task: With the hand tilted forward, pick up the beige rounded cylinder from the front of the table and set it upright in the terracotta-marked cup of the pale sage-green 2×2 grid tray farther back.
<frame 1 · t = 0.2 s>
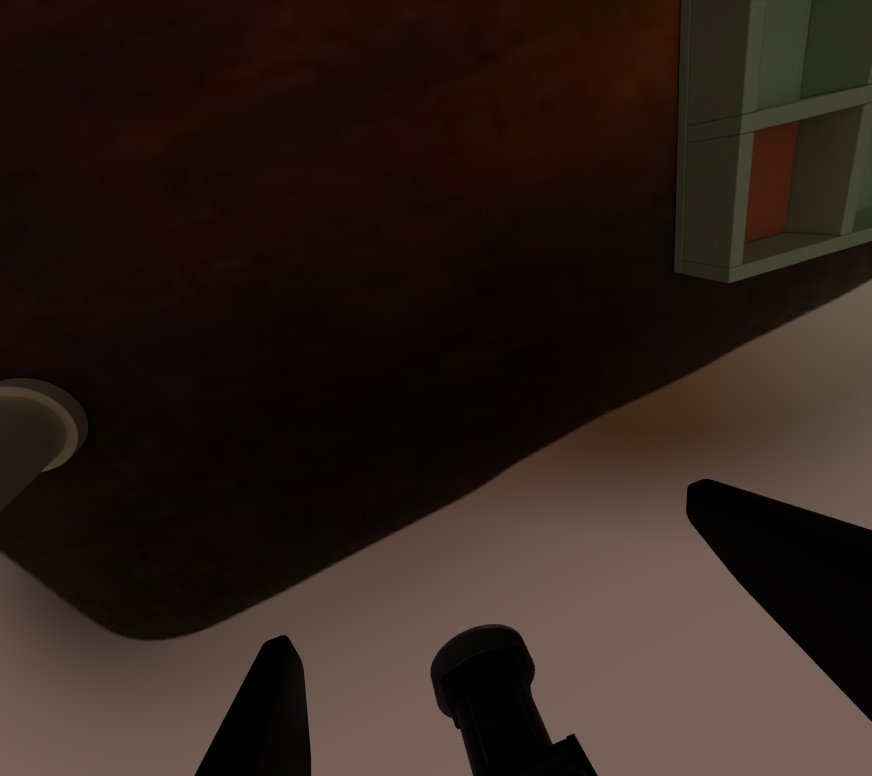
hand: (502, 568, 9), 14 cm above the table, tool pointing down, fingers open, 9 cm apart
beige rounded cylinder: (33, 420, 19), on the table
grid: (792, 108, 22), on the table
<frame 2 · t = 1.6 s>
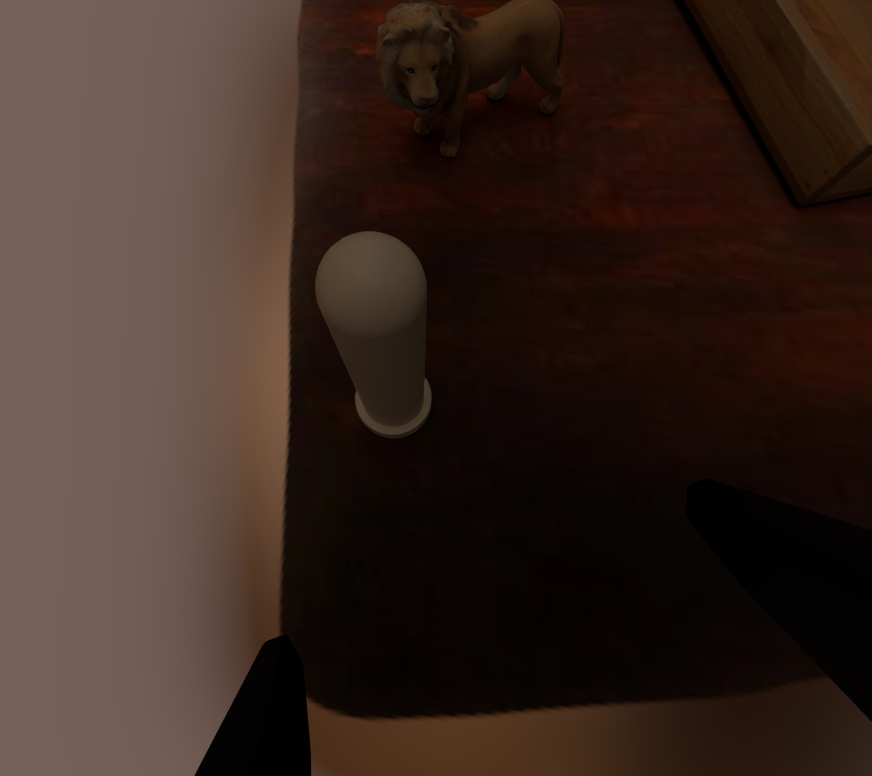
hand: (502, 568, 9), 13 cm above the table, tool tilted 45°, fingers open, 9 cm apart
tray: (785, 38, 35), on the table
beige rounded cylinder: (394, 402, 24), on the table
lion figurine: (473, 132, 31), on the table
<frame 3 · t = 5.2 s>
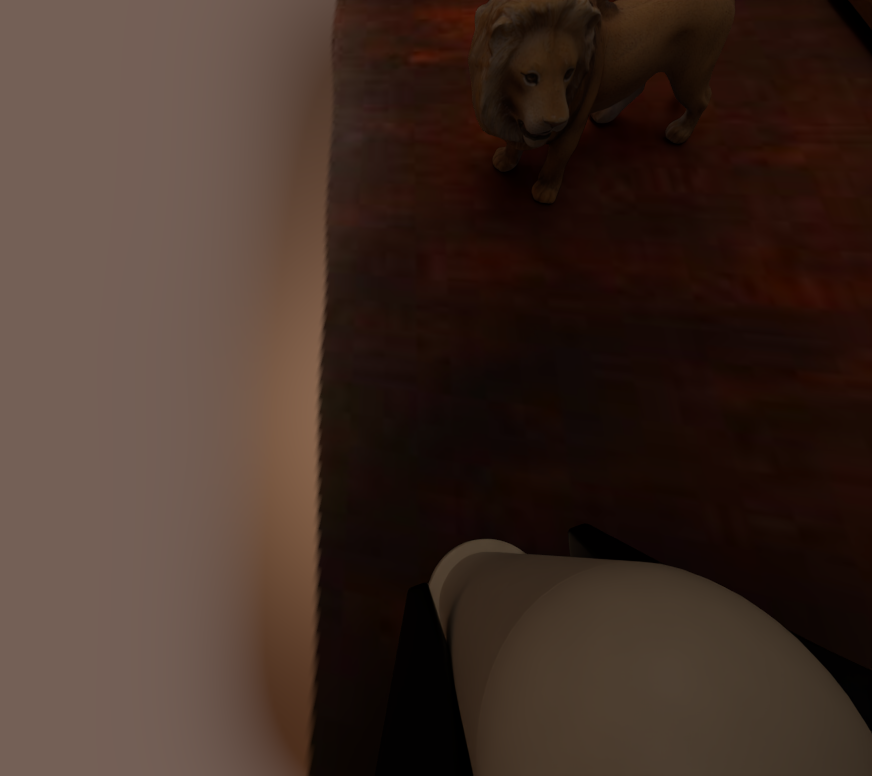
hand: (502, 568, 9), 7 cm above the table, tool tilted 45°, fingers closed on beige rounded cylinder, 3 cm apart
beige rounded cylinder: (485, 601, 15), on the table, touching gripper
lion figurine: (575, 168, 22), on the table
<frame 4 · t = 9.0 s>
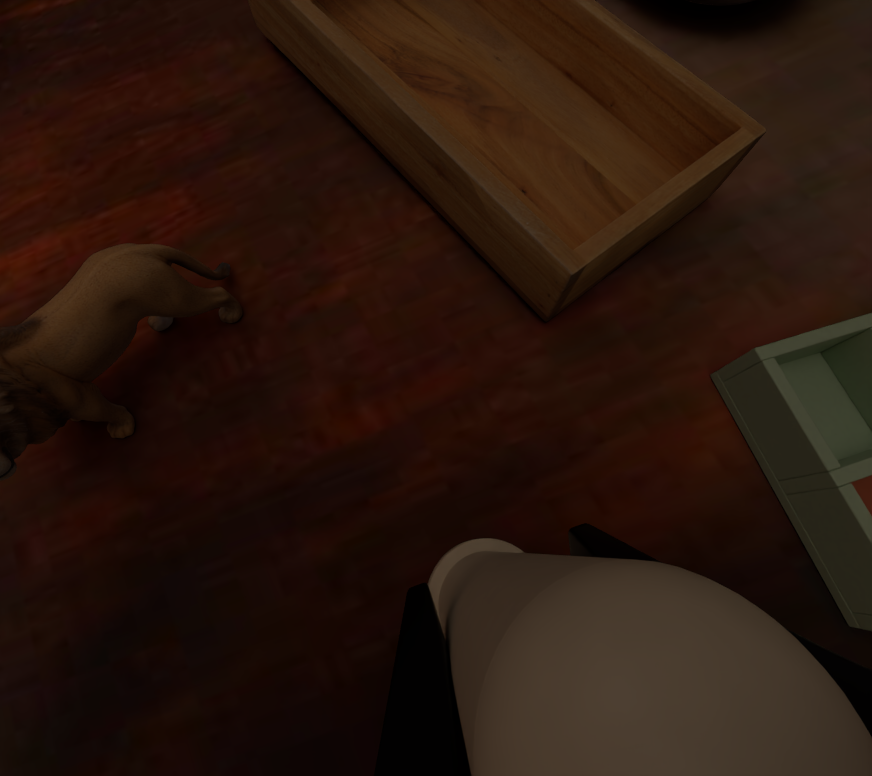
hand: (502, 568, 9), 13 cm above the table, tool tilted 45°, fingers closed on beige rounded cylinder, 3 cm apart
tray: (469, 116, 31), on the table
beige rounded cylinder: (484, 600, 15), point 6 cm above the table, touching gripper
lion figurine: (151, 383, 24), on the table
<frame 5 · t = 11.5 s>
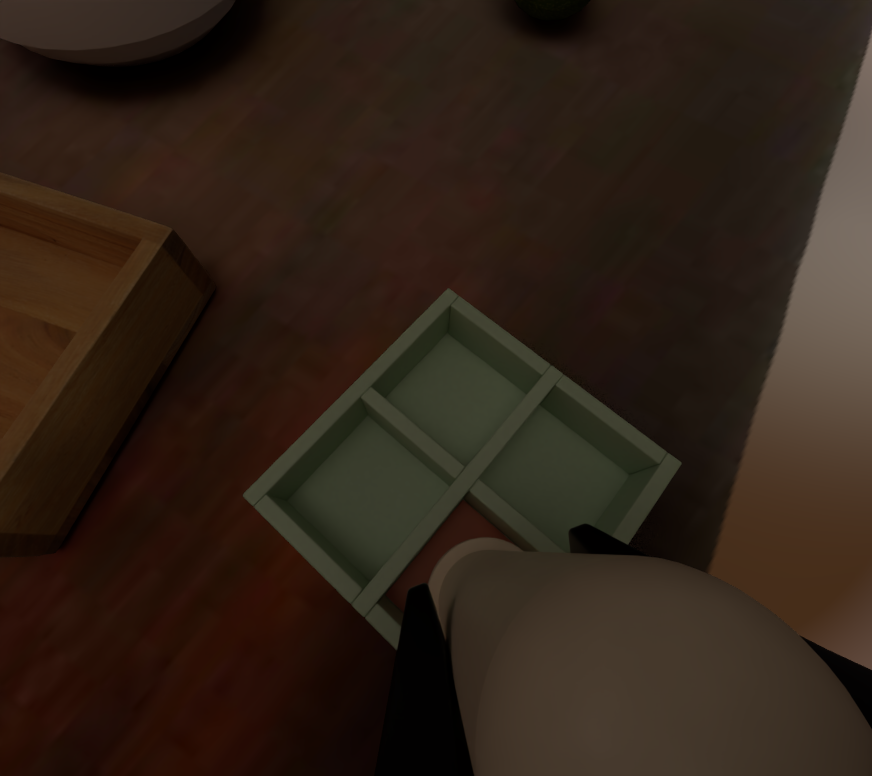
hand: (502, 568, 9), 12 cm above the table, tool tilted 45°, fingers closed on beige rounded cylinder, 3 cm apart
beige rounded cylinder: (484, 599, 15), point 6 cm above the table, touching gripper
grid: (460, 489, 22), on the table
bowl: (143, 20, 33), on the table
fruit: (544, 18, 34), on the table
when the fingers open (7 cm above the table, at t = 13.2 s): beige rounded cylinder stays where it is, resting on grid.
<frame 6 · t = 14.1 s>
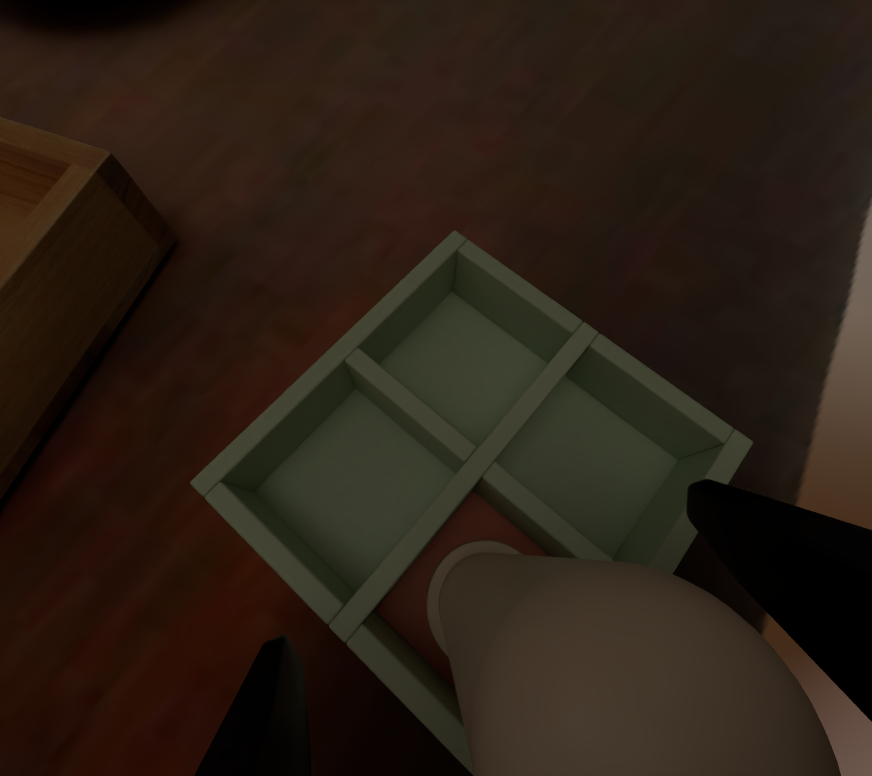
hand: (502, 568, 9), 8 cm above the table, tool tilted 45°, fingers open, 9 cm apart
beige rounded cylinder: (483, 600, 15), point 1 cm above the table, touching grid
grid: (469, 478, 18), on the table
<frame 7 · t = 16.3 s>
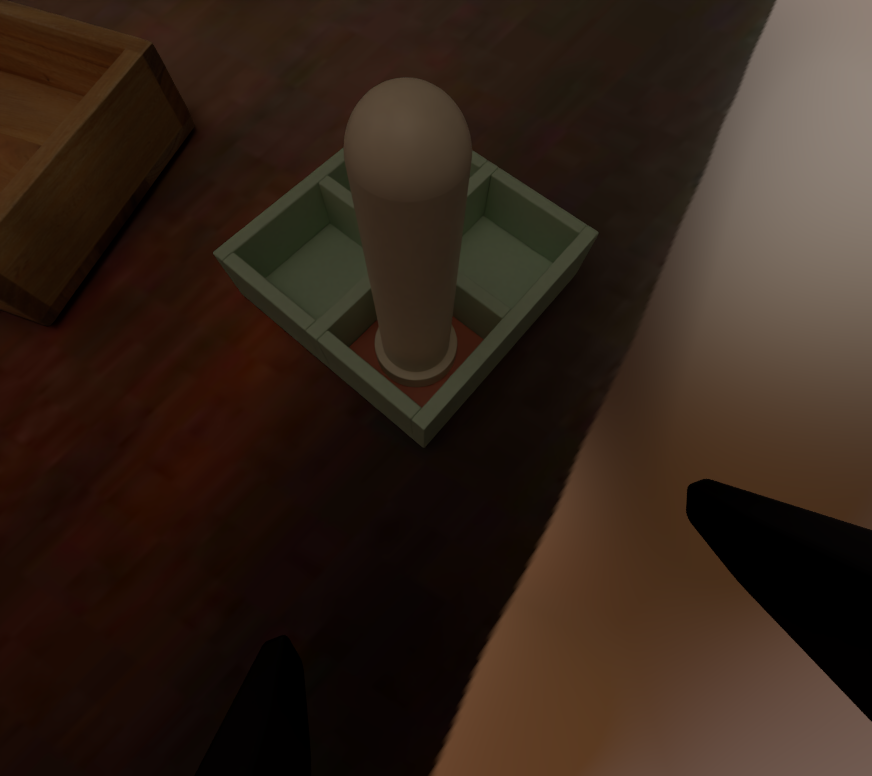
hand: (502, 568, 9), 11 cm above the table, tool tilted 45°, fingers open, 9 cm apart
beige rounded cylinder: (416, 350, 22), point 1 cm above the table, touching grid
grid: (411, 284, 24), on the table
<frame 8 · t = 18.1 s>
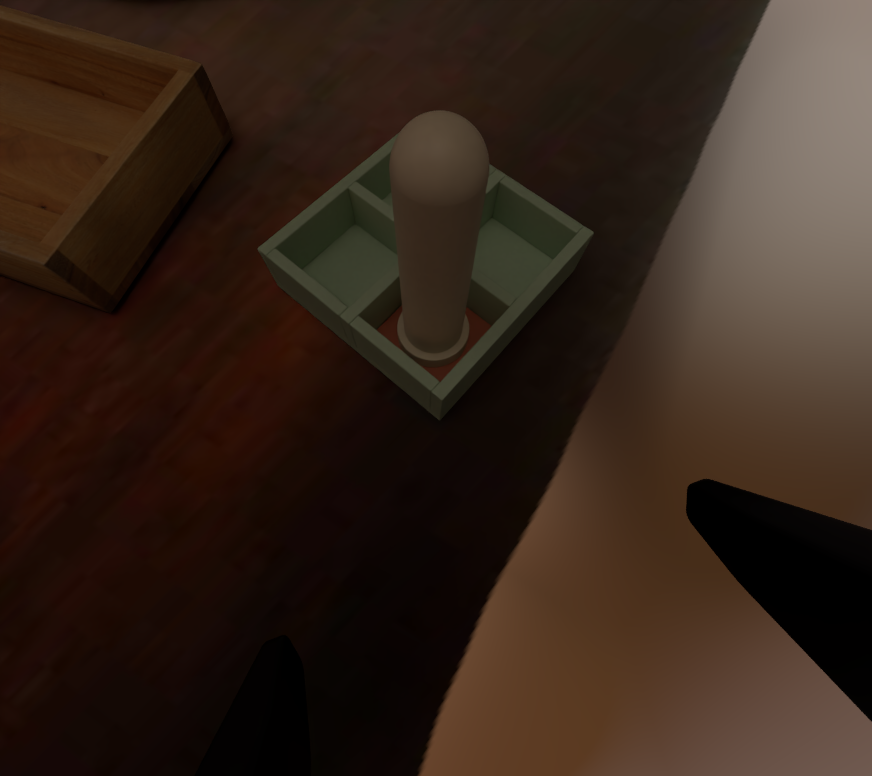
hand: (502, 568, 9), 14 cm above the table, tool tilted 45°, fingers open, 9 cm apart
beige rounded cylinder: (433, 335, 25), point 1 cm above the table, touching grid
grid: (428, 278, 28), on the table
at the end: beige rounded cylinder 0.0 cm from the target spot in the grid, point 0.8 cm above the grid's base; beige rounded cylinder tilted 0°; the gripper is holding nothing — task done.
